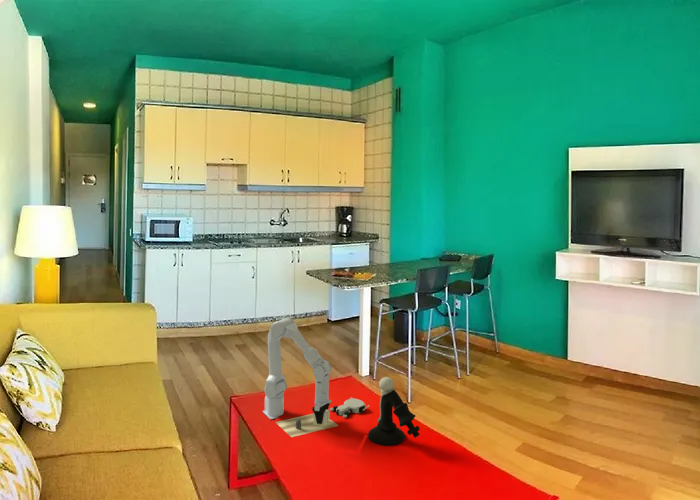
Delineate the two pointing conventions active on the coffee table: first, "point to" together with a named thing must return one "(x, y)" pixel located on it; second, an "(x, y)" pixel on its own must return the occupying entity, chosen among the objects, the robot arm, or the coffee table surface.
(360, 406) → the robot toy
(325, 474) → the coffee table surface
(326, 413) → the slotted white block
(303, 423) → the board
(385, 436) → the sculpture
